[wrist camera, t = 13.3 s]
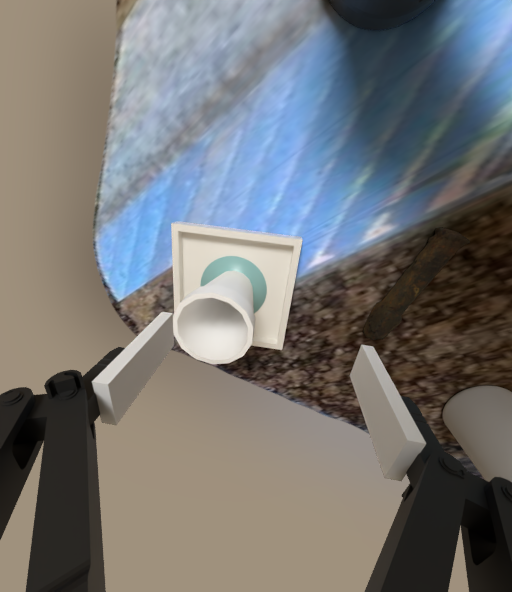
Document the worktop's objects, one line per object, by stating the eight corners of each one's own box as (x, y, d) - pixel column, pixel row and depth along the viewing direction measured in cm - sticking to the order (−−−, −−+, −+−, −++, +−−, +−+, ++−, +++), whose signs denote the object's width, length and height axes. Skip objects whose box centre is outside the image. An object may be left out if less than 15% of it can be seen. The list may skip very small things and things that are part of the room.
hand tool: (434, 223, 33) (456, 227, 29) (456, 237, 34) (481, 243, 29) (349, 322, 41) (357, 337, 36) (368, 333, 41) (378, 349, 37)
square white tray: (178, 221, 36) (171, 223, 34) (301, 236, 35) (302, 239, 33) (180, 326, 44) (175, 334, 42) (282, 341, 43) (282, 350, 41)
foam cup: (244, 323, 41) (228, 376, 29) (196, 297, 40) (160, 340, 28) (272, 279, 37) (268, 319, 25) (221, 249, 36) (192, 276, 24)
